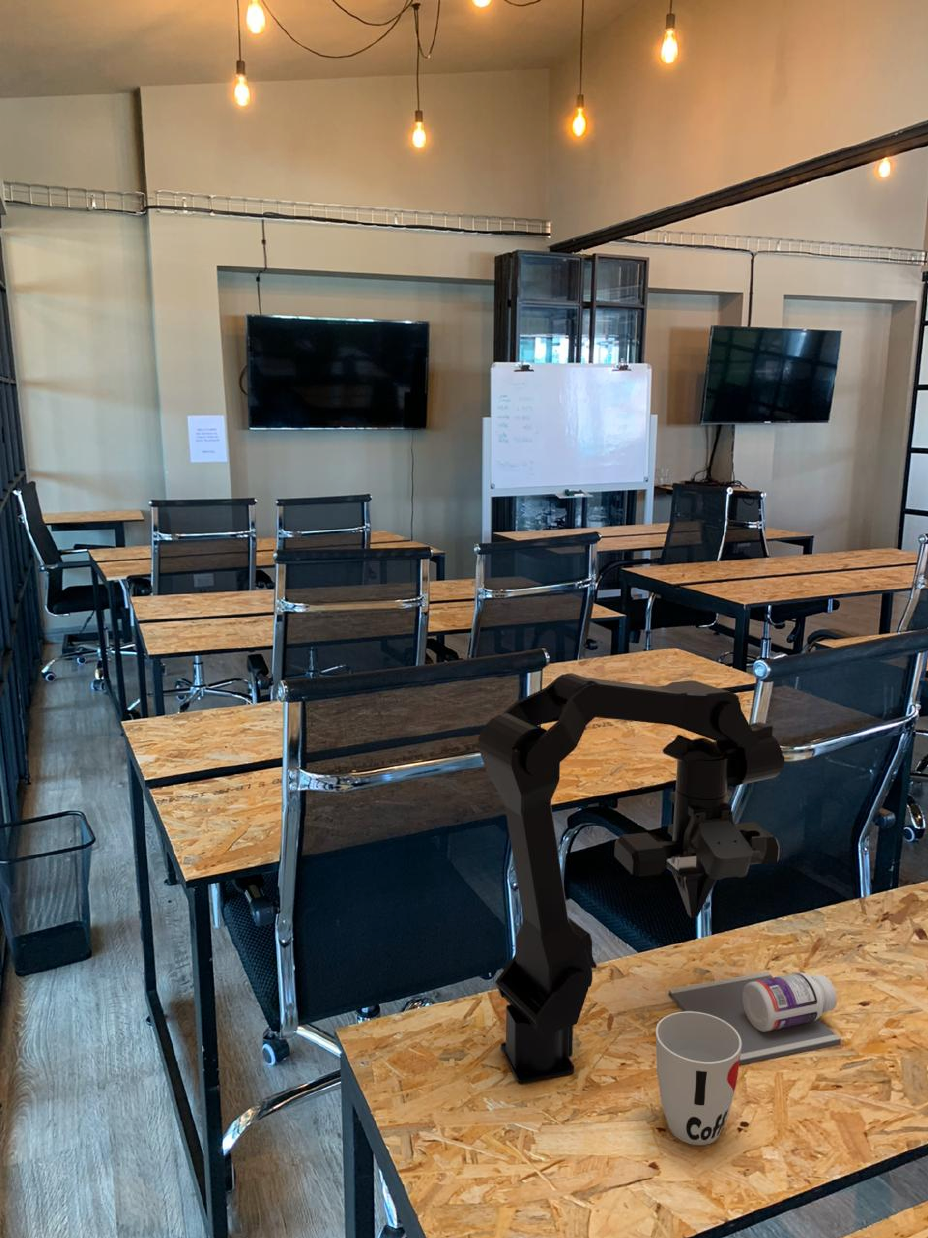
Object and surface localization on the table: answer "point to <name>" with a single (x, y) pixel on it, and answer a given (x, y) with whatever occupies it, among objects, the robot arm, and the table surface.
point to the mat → (729, 1007)
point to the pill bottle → (788, 1000)
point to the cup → (696, 1073)
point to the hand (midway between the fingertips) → (692, 915)
